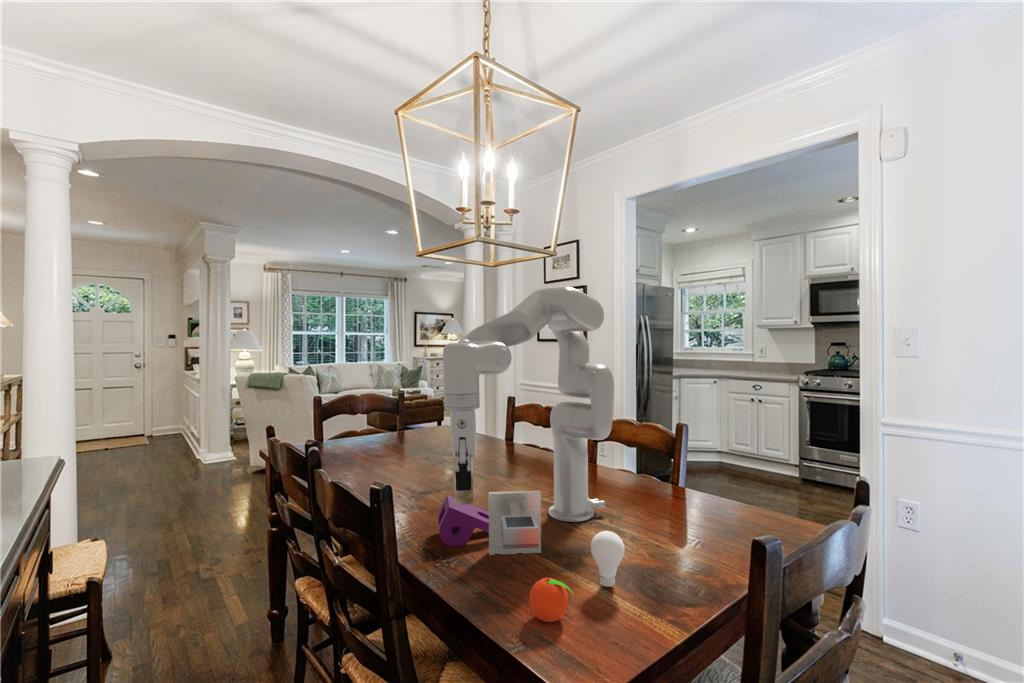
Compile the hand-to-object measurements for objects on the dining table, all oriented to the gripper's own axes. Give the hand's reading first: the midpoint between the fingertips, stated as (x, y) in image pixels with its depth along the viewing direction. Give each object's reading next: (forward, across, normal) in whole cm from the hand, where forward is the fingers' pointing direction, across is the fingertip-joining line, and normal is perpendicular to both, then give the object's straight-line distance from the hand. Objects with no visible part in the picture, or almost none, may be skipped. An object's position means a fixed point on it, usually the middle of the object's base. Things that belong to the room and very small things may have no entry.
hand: (463, 485), depth 104 cm
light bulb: (+19, -10, -28) cm, 35 cm away
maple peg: (+3, 0, 0) cm, 3 cm away
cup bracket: (+19, +1, -11) cm, 22 cm away
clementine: (+18, -20, -15) cm, 31 cm away
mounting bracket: (+19, +18, -2) cm, 26 cm away
